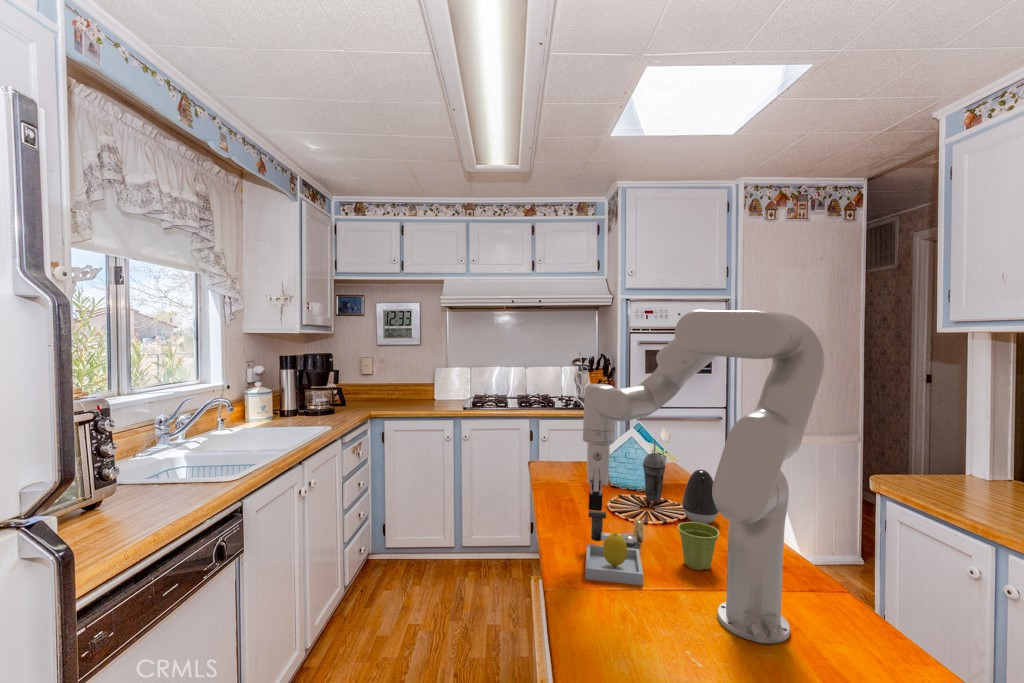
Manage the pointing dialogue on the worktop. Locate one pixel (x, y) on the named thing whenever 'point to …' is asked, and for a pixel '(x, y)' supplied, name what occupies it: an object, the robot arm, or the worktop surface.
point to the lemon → (615, 549)
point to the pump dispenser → (699, 498)
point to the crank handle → (599, 536)
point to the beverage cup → (653, 475)
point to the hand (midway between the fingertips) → (595, 509)
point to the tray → (605, 571)
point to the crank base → (637, 534)
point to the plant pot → (698, 544)
